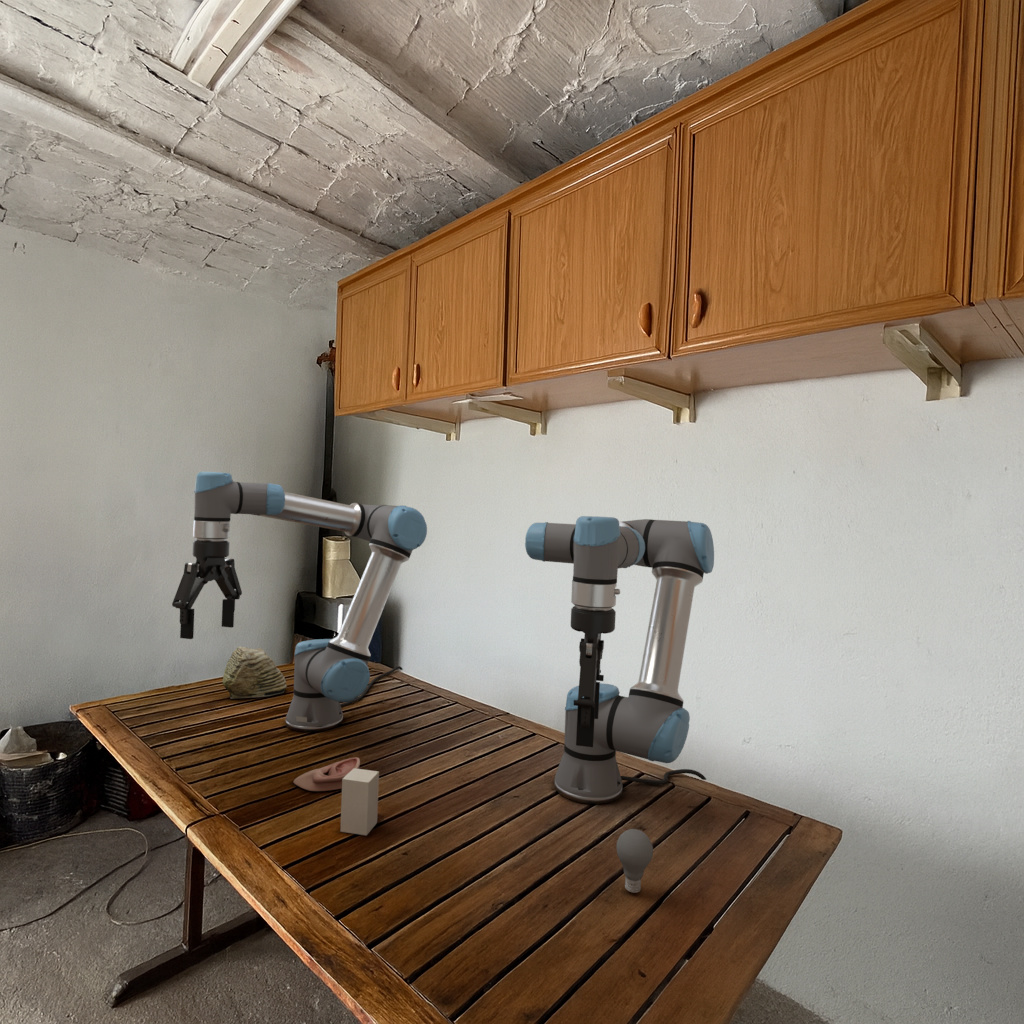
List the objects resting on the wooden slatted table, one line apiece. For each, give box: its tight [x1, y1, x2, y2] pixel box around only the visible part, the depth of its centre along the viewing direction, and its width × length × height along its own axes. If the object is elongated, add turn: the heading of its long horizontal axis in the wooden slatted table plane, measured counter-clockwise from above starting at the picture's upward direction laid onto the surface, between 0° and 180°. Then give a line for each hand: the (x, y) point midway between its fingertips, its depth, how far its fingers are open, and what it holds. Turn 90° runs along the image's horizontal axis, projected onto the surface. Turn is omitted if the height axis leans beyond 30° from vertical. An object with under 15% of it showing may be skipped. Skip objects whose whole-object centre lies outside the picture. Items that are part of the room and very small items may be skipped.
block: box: [339, 768, 380, 836], centre depth 122 cm, size 5×5×10 cm
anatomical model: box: [293, 757, 361, 792], centre depth 141 cm, size 13×4×12 cm
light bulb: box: [615, 828, 654, 894], centre depth 106 cm, size 6×6×10 cm
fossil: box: [222, 646, 288, 699], centre depth 198 cm, size 9×18×15 cm, turn 132°
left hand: (208, 632), depth 145 cm, fingers open, 13 cm apart
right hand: (587, 731), depth 108 cm, fingers open, 13 cm apart
